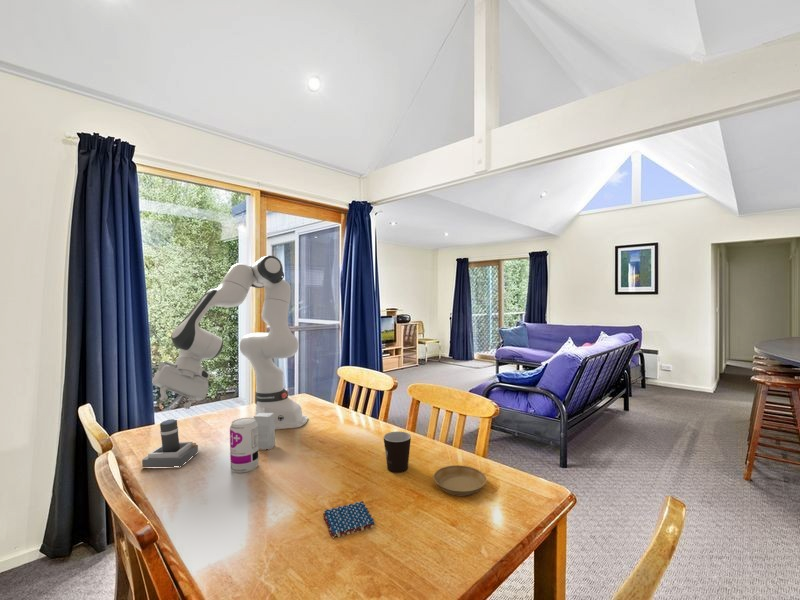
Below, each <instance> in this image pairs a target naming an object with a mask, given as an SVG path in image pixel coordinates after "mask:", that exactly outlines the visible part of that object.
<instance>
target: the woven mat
mask: <svg viewBox="0 0 800 600" xmlns="http://www.w3.org/2000/svg"><path fill="white" fill-rule="evenodd" d="M322 513H323V512H322ZM322 515H323V520H324V521H325V524H326V526H327V529H328V532H329V535H330V537H333V538H334V537H335V538H336V537H337V536H338V537H337V538H341V536H342V537H343V538H344V537H346V536H347V535H348V536H349V535H350V534H354V533H355V531H356V532H357V533H359V532H360V531H361V532H363V531H364V530H366V531H368V528H370V529H374V525H375V521H374V518H373V517H372V514H371V513H370V511H369V510H368V507H366V503H365V504H364V500H362V501H358V502H357V501H355V503H349V504H344V505H343V506H340V505H339V506H337V507H335V508H334V507H332V508H330V509H328V508H327V509H325V510H324V513H323V514H322ZM345 534H346V536H345ZM333 538H332V539H333Z"/></svg>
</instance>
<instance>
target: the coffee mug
mask: <svg viewBox="0 0 800 600" xmlns="http://www.w3.org/2000/svg"><path fill="white" fill-rule="evenodd" d="M411 438H412V436H411V434H410V433H408V432H404V431H390V432H388V433H385V434H384V435H383V444H384V450H385V453H384V454H385V459H386V468H387V471H389V472H390V473H393V474H402V473H404V472H406V471H408V469H409V461H410V459H409V458H410V453H411V452H410V449H411V440H412V439H411Z"/></svg>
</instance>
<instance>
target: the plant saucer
mask: <svg viewBox="0 0 800 600" xmlns="http://www.w3.org/2000/svg"><path fill="white" fill-rule="evenodd" d="M433 480H434V482H435V483H436V485H437V486H438V487H439V488H440V489H442V490H443V491H444V492H446V493H447V494H449V495H453V496H458V497H459V496H460V497H461V496H462V497H463V496H464V497H465V496H471V495H474V494H476V493H478V492H479V491H481V489H482V488H483V487H484V486H485V485H486V483H487V477H486V475H485V474H484V473H483V472H481V470H479V469H477V468H474V467H471V466H466V465H447V466H444V467H441V468H439V469H437V470H436V471H435V472H434V473H433Z"/></svg>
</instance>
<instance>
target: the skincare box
mask: <svg viewBox="0 0 800 600" xmlns="http://www.w3.org/2000/svg"><path fill="white" fill-rule="evenodd" d="M253 418H255V419H256V422H257V424H258V450H266V449H268V451H269V449H270V450H272V449H273V447H275V446H274V445H276V438H275V437H276V436H275V435H276V433H275V431H276V430H275V428H274V413H258V414H257V415H255V414H254V415H253Z"/></svg>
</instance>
